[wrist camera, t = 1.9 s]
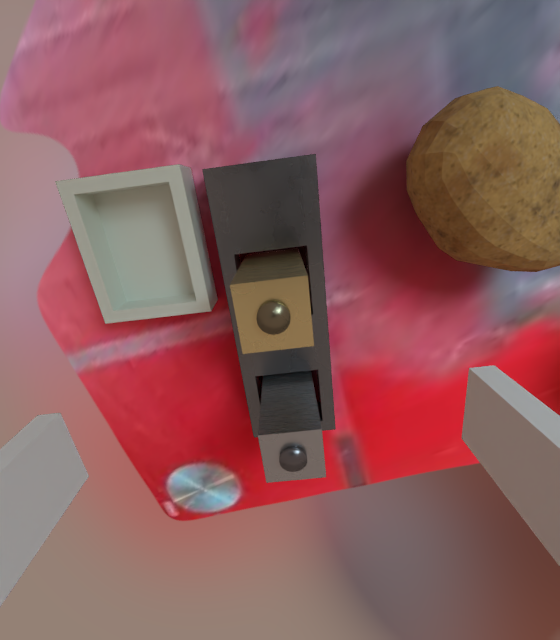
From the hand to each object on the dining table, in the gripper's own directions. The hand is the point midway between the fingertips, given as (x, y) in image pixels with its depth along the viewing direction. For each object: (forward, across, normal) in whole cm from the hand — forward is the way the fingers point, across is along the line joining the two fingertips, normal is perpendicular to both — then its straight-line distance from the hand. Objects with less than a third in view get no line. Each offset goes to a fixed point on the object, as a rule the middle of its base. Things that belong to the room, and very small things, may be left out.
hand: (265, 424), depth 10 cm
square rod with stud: (+19, 0, -11) cm, 22 cm away
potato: (+19, +16, +5) cm, 26 cm away
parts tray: (+19, -10, +4) cm, 22 cm away
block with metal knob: (+19, 0, 0) cm, 19 cm away
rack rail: (+19, 0, -3) cm, 19 cm away
